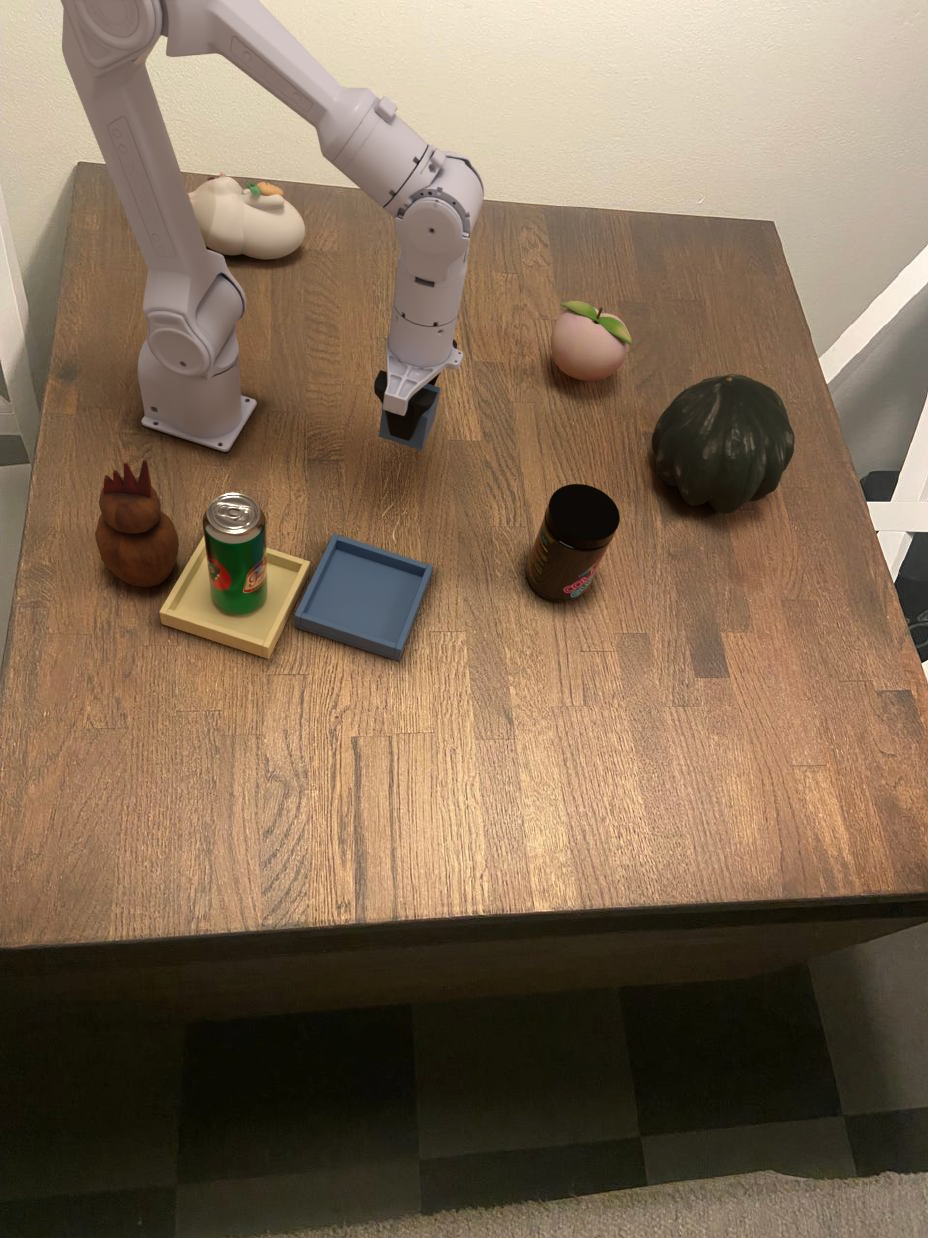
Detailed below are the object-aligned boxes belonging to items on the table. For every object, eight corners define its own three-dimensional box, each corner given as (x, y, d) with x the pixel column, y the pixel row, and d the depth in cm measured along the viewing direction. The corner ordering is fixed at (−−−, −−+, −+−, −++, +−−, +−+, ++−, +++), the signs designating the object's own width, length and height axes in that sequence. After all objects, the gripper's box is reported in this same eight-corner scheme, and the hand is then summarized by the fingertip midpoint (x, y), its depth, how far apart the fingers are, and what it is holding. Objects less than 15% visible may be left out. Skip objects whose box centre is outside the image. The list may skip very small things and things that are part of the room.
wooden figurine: (193, 560, 86) (177, 449, 74) (162, 606, 83) (140, 498, 71) (127, 534, 87) (101, 420, 74) (94, 579, 83) (60, 468, 71)
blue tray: (293, 627, 84) (294, 615, 83) (332, 545, 90) (333, 533, 88) (399, 661, 84) (401, 650, 82) (430, 577, 90) (433, 565, 88)
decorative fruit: (529, 383, 107) (549, 314, 99) (551, 343, 112) (572, 274, 104) (603, 413, 107) (630, 346, 98) (622, 372, 111) (649, 304, 103)
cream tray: (161, 624, 82) (158, 611, 80) (209, 540, 88) (208, 527, 86) (268, 659, 82) (268, 647, 80) (309, 573, 88) (310, 561, 86)
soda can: (257, 624, 83) (253, 543, 73) (203, 610, 83) (192, 527, 73) (274, 581, 86) (273, 497, 76) (222, 567, 86) (214, 482, 76)
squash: (831, 467, 100) (801, 336, 93) (758, 540, 93) (720, 405, 86) (721, 467, 111) (687, 350, 104) (648, 532, 104) (607, 411, 97)
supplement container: (547, 614, 90) (575, 550, 81) (511, 563, 92) (534, 496, 84) (601, 591, 92) (634, 526, 84) (565, 542, 95) (593, 475, 86)
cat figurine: (312, 180, 107) (178, 150, 102) (307, 247, 106) (171, 221, 102) (304, 216, 116) (180, 191, 112) (298, 278, 115) (174, 255, 111)
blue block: (378, 436, 90) (382, 403, 86) (392, 407, 93) (396, 373, 89) (421, 450, 90) (427, 417, 86) (434, 420, 93) (440, 387, 89)
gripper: (447, 371, 75) (425, 482, 86) (490, 271, 83) (465, 384, 94) (365, 345, 75) (354, 459, 86) (416, 247, 83) (400, 363, 94)
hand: (408, 418), depth 90 cm, fingers closed on blue block, 4 cm apart
